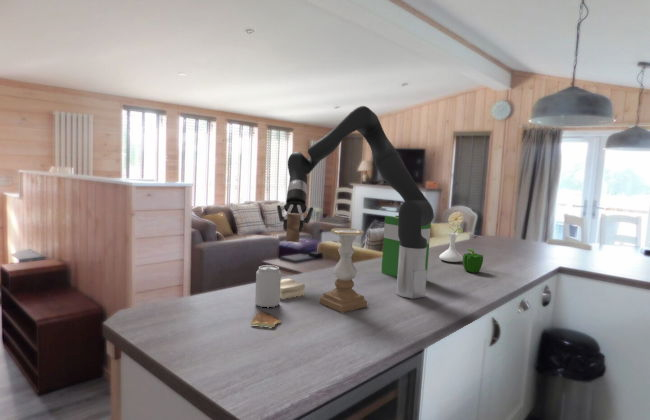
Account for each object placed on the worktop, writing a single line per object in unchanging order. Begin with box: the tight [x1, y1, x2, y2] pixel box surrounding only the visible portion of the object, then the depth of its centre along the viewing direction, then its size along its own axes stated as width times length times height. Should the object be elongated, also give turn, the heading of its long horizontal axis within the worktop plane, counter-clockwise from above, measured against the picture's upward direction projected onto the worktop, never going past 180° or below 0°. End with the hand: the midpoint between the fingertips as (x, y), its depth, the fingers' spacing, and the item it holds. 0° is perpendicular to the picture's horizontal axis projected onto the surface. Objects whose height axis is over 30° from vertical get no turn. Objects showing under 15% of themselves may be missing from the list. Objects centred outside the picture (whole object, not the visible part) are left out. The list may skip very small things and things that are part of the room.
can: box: [254, 264, 282, 309], centre depth 128 cm, size 8×8×12 cm
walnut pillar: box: [285, 213, 301, 243], centre depth 152 cm, size 4×4×10 cm
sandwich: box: [250, 309, 282, 328], centre depth 116 cm, size 11×8×2 cm
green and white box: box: [380, 215, 432, 281], centre depth 171 cm, size 18×7×24 cm, turn 39°
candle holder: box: [319, 227, 368, 313], centre depth 131 cm, size 11×11×24 cm
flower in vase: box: [438, 211, 465, 263], centre depth 204 cm, size 13×11×25 cm
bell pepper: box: [462, 248, 484, 274], centre depth 186 cm, size 8×8×10 cm
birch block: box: [280, 278, 306, 300], centre depth 141 cm, size 9×9×4 cm
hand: (292, 230), depth 150 cm, fingers closed on walnut pillar, 4 cm apart
